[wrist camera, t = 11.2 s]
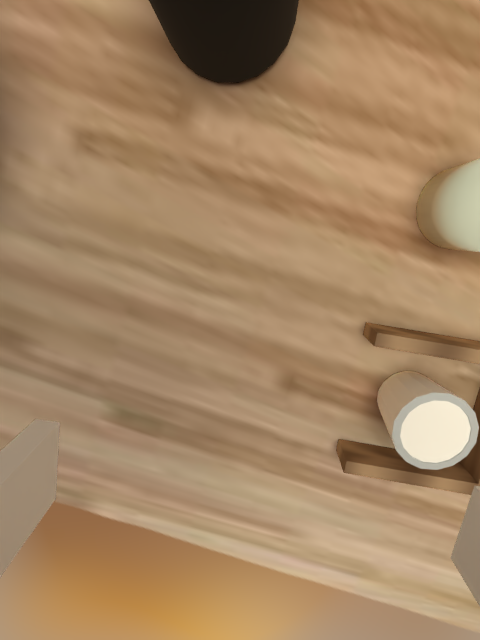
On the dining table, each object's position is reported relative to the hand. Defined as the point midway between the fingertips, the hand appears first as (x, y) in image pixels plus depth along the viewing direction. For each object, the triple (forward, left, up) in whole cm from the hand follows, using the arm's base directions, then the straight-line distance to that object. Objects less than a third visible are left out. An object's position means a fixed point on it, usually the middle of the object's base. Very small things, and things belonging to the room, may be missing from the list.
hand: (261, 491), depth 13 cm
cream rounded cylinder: (+15, +12, -27) cm, 33 cm away
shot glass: (+15, -6, -27) cm, 31 cm away
